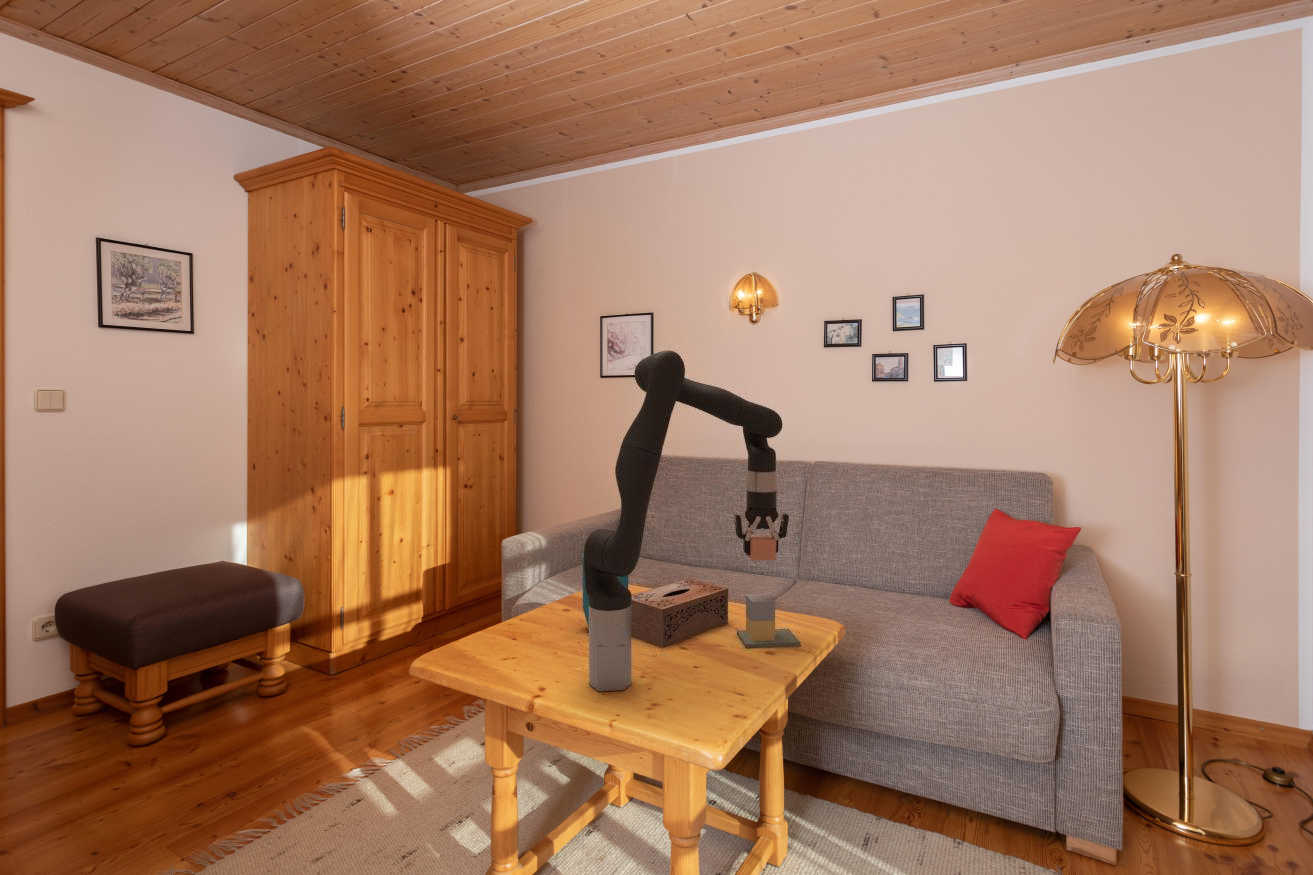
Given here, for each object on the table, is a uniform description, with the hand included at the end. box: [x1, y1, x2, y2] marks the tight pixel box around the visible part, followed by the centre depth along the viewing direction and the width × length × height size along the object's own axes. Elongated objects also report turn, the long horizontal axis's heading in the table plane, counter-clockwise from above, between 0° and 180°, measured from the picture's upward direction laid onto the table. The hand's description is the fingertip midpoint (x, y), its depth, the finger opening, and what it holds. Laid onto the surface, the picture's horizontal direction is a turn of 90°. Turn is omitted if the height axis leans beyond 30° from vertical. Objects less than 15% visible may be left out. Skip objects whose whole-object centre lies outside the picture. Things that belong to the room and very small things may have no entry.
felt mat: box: [736, 628, 802, 649], centre depth 174 cm, size 10×14×1 cm
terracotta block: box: [746, 534, 777, 561], centre depth 173 cm, size 6×6×5 cm
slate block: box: [745, 593, 776, 622], centre depth 174 cm, size 6×6×5 cm
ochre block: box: [745, 614, 776, 641], centre depth 174 cm, size 6×6×5 cm
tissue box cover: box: [631, 578, 729, 649], centre depth 183 cm, size 26×14×10 cm, turn 135°
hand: (760, 554), depth 173 cm, fingers closed on terracotta block, 6 cm apart
